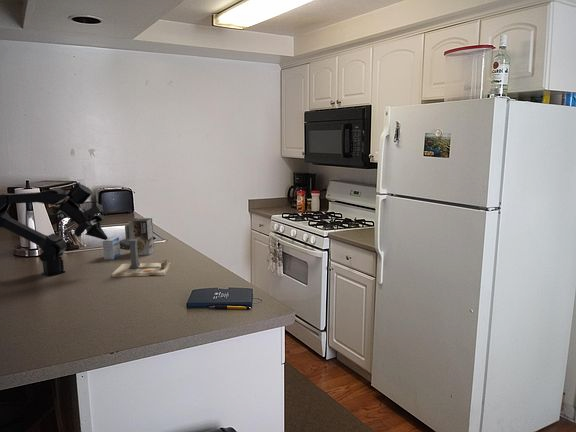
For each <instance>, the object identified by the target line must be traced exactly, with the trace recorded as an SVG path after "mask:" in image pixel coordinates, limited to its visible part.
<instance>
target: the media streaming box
mask: <svg viewBox="0 0 576 432" xmlns="http://www.w3.org/2000/svg"><path fill="white" fill-rule="evenodd" d="M129 240H130V237H129V238H125V239H122V240H119V243H120V246H121V247H120V248H122V247H124V248H123V249H126V248H128V249H127V250H130V244H129ZM154 241H155V240H153V242H154ZM154 243H155V242H154Z"/></svg>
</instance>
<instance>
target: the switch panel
mask: <svg viewBox="0 0 576 432" xmlns="http://www.w3.org/2000/svg"><path fill="white" fill-rule="evenodd" d="M139 263H140V266H139V267H138V268H130V265H131V263H122V264H120V265H119V266H118V268H116V269H115V270H114V271H113V272H112V273H111V277H112V278H115V277H118V278H120V277H121V278H122V277H150V276H149V275H156V276H166V274H167V273H168V271H169V270H170V268H171V266H172V262H167V259H163V260H162V261H161V262H147V263H145V262H143V263H141V262H139ZM166 272H167V273H166Z"/></svg>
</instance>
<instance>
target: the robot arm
mask: <svg viewBox="0 0 576 432" xmlns="http://www.w3.org/2000/svg"><path fill="white" fill-rule="evenodd" d="M92 194H93V191H92V190H91V188H89V187H88V186H86V185H84V184H82V183H80V182H76V183H75V184H74V185H73V187H72V188H71V189H70V191H69V190H68V191H66V190H63V188H60V187H57V188H52V189H47V190H43V191H40V192H38V191H36V192H22V193H21V192H17V193H8V192H7V193H3V194H0V228H2V229H5V230H6V231H9V232H11V233H13V234H15V235H16V236H19V237H21V238H23V239H25V240H27V241H29V242H31V243H33V244H35V245H37V247H39V249H40V250H41V251H42V253H41V254H39V256H38V258H39V260H40V262H42V263H41V264H42V272H41V273H40V274H41V275H45V276H48V277H53V276H56V275H59V274H60V275H61V274H64V273H66V270H65V269H64V260H63V253H64V252H65V251H66V250H67V247H68V246H67V242H66V241H65V240H64V239H63V237H61V236H59V235H57V234H55V233H51V234H49V235H46V234H44V233H41V232H39V231H37V230H36V229H34V228H31V227H30V226H28V225H26V224H23V223H22V222H20V221H19V220H16V219H14V218H12V217H11V215H10V214H9V213H8V212H7V211H8V209H9V208H10V206H11V205H13V204H31V203H40V204H43V205H56V204H59V205H58V206H57V205H56V206H54V214H55V215H57V214H58V215H59V214H60V213H63V214H64V215H65V216H66V217H67V218H69V219H70V222H71V223H75V224H76V225H78V226H77V227H76V228H75V229H74V230H73V231H74V235H75V236H76V237H78V238H80V237H81V236H83V233H84V232H86V233H85V234H84V235H85V236H90V237H93V238H97V239H100V240H102V241H104V240H107V239H108V238H109V237H108V236H107V234H106V233H105V231H104V230H103V228H102V226H101V222H102V221H103V220H104V219H105V217H104V215H102V214H100V213H102V212H104V211H105V210H104V209H103V205H102V204H101V203H97V202H95V203H94V204H92V206H91V208H89V209H87V208H82V207H81V206H79V205H84V203H86V201H87V200H88V199H89V198H90V197H91V196H92ZM66 199H67V200H66ZM65 200H66V201H65Z"/></svg>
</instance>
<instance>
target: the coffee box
mask: <svg viewBox="0 0 576 432" xmlns="http://www.w3.org/2000/svg"><path fill="white" fill-rule="evenodd" d="M127 223H128V224H127V225H128V234H129V238H130V239H138V242H137V249H138V256H139V255H140V256H141V255H143V256H150V255H152V254H153V253H155V246H154V245H155V244H154V243H155V242H153V241H154V232H153V231H154V229H153V217H152V218H150V217H147V218H146V217H144V218H143V217H139V218H138V217H137V218H134V217H133V218H132V219H129V220H127Z"/></svg>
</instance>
